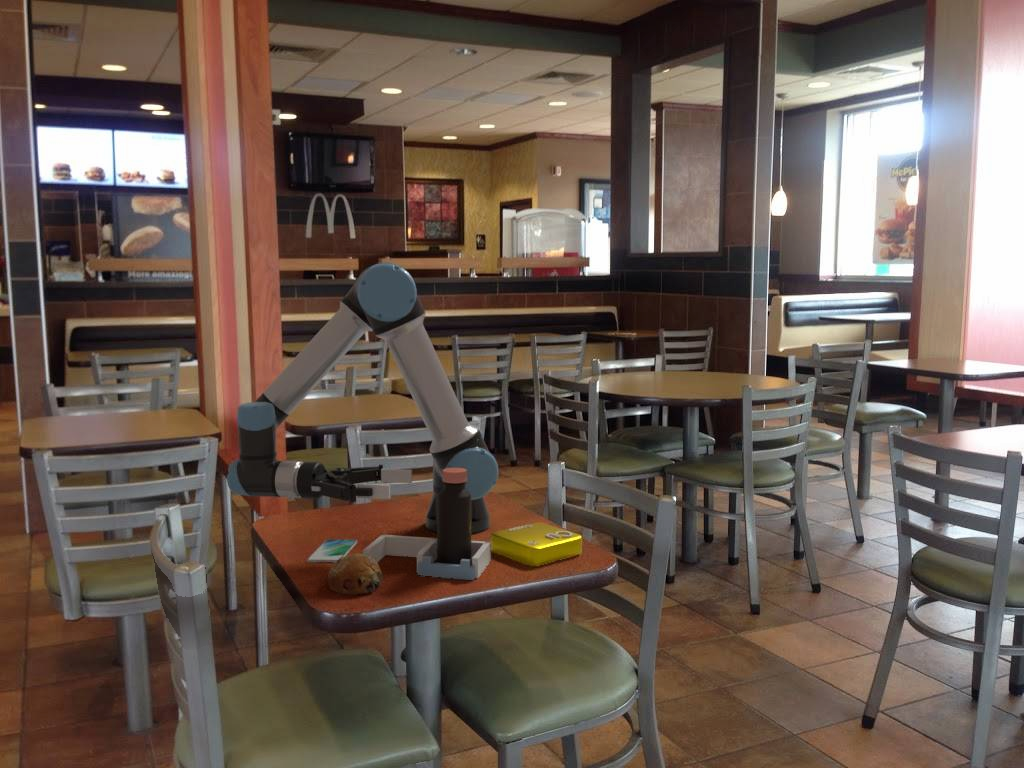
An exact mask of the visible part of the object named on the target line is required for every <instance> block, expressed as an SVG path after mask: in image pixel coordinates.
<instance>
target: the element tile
mask: <svg viewBox="0 0 1024 768" xmlns="http://www.w3.org/2000/svg"><path fill="white" fill-rule="evenodd" d="M490 542H491V553H493V552H494V554H495V553H497V554H496V555H498V554H499V555H498V556H500V555H503V556H505V557H504V558H506V557H508V558H510V559H509V560H511V559H513V560H512V561H514V560H515V561H514V562H516V561H518V562H517V563H519V562H521V563H523V564H522V565H524V564H526V565H525V566H527V565H530V566H529V567H532V566H537V565H542V564H545V563H549V562H552V561H556V560H560V559H563V558H566V557H569V556H573V555H577V554H581V553H582V554H583V536H582V535H581V534H580V533H576V532H573V531H569V530H567V529H562V528H560V527H557V526H554V525H550V524H548V523H545V522H541V521H538V522H533V523H529V524H523V525H519V526H514V527H510V528H506V529H501V530H498V531H493V532H492V533H491V535H490ZM582 554H581V555H582ZM503 556H502V557H503ZM508 558H507V559H508ZM521 563H520V564H521ZM537 567H538V566H537Z"/></svg>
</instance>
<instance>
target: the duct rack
mask: <svg viewBox="0 0 1024 768" xmlns="http://www.w3.org/2000/svg"><path fill="white" fill-rule="evenodd" d="M362 554H364V555H366V556H370V557H371V558H373V559H374V560H375V561H376V562H377V563H379V562H380V561H381V560H382V559H383V558H384V557H385V556H393V557H407V556H408V557H411V558H416V574H417V573H418V574H417V576H418V575H421V576H420V577H425V576H432V577H431V578H438V577H441V578H440V579H451V578H453V580H464V581H465V580H467V581H475V579H479V578H480V576H481V575H482V574H483V572H484V571H485V570H486V568H487V567H488V566H489V564H490V563H491V562H492V561H491V559H492V551H491V541H480V540H471V565H470V559H462V560H461V561H460V565H458V564H444V563H437V562H436V560H437V538H436V537H424V536H422V537H421V536H409V535H405V536H404V535H393V534H381V535H380V536H378V537H377V538H376V539H375V540H373V541H372V542H371V543H369V544H368V545H367V546H366V547H364V548H363V549H362ZM408 557H407V558H408ZM433 562H434V563H433ZM489 562H490V563H489ZM486 566H487V567H486ZM481 573H482V574H481ZM422 575H423V576H422Z"/></svg>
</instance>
